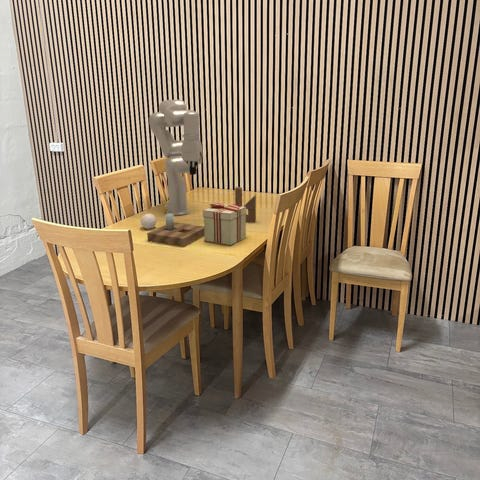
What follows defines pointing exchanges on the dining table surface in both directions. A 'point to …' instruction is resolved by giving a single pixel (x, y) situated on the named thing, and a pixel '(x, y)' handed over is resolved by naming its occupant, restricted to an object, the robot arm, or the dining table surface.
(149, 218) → the geometric ball
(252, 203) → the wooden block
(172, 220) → the peg
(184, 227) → the board
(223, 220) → the gift box
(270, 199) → the dining table surface
